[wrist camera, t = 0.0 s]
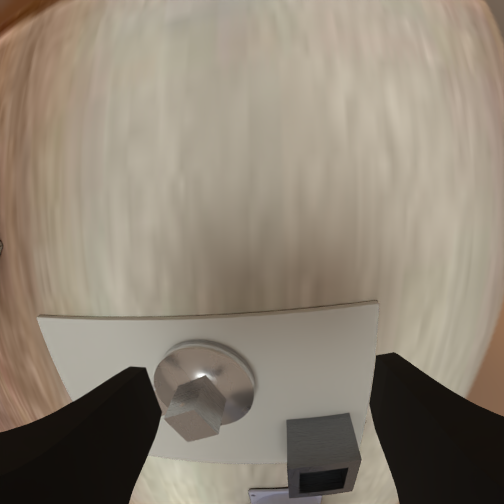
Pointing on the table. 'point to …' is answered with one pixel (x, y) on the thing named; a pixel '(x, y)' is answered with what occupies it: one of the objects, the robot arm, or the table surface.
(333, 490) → the socket
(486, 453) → the robot arm
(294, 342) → the mat
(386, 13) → the table surface
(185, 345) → the ratchet
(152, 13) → the table surface
